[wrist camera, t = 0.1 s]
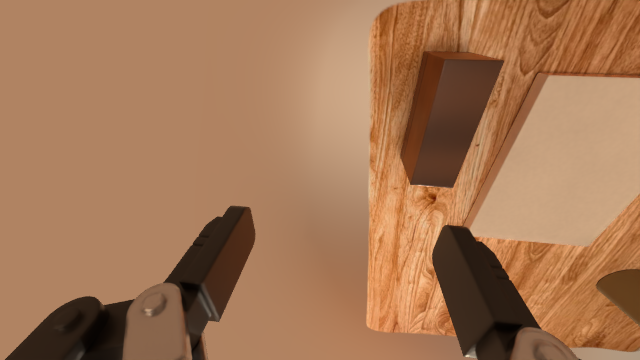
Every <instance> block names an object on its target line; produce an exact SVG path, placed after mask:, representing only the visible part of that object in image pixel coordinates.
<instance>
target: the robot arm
mask: <svg viewBox="0 0 640 360" xmlns="http://www.w3.org/2000/svg"><path fill="white" fill-rule="evenodd" d="M254 241H255V229H254V224H253V219H252V214H251V210H250V208H249V207H242V206H230V207H229V208H228V209H227V211H226V212H225V214H224V215H223V217H216V218H215V219H213V220H212V221H211V222H209V223H208V224H207V225H206V226H205V227H204V229H203V230H202V231H201V233H200V234H199V237H197V238H196V240H195V241H194V242H193V245H192V246H191V247H190V248H189V249H188V251H187V252H186V253H185V255H184V256H183V257H182V259H181V260H180V262H179V263H178V264H177V266H176V267H175V268H174V270H173V271H172V273H171V274H170V275H169V277H168V278H167V279H166V280H165V282H164V283H162V284H158V285H155V286H152V287H150V288H149V289H147V290H145V291H144V292H143V293H141V294H140V295H139V296H138V297H137V298H136V299H133V300H129V301H124V302H118V303H113V304H108V305H103V304H102V303H101V302H100V301H99V300H98V299H96V298H95V297H90V296H89V297H82V298H77V299H75V300H72V301H70V302H68V303H66V304H64V305H62V306H61V307H59V308H58V309H56V310H55V311H54V312H52V313H51V314H50V315H49V316H48V317H47V318H46V319H45V320H44V321H43V322H42V323H41V324H40V325H39V326H38V327H37V328H36V329H35V330H34V331H33V332H32V333H31V334H30V335H29V336H28V337H27V338H26V339H25V340H24V341H23V342H22V343H21V344H20V345H19V346H18V347H17V348H16V349H15V350H14V351H13V352H12V353H11V354H10V355H9V356H8V357H7V358H6V359H5V360H208V356H207V349H206V343H205V337H204V332H203V330H204V328H205V326H206V324H207V322H208V321H216V322H219V321H220V319H221V316H222V314H223V312H224V310H225V308H226V305H227V303H228V301H229V298H230V296H231V294H232V292H233V290H234V287H235V285H236V283H237V281H238V279H239V276H240V274H241V272H242V270H243V267H244V265H245V263H246V261H247V259H248V256H249V254H250V252H251V250H252V248H253V245H254ZM432 261H433V266H434V269H435V272H436V275H437V278H438V281H439V284H440V287H441V290H442V293H443V296H444V299H445V302H446V305H447V308H448V311H449V314H450V317H451V320H452V323H453V326H454V329H455V332H456V335H457V338H458V340H459V344H460V347H461V350H462V353H463V356H464V357H471V358H477V359H478V360H580V359H578V358H577V357H576V355H575V354H574V353H573V352H572V351H571V350H570V349H569V348H568V347H567V346H566V345H565V344H564V343H563V342H562V341H560V340H559V339H558V338H556V337H555V336H553V335H551V334H550V333H548V332H546V331H543V330H542V329H541V328H540V326H539V325H538V323H537V322H536V320H535V319H534V317H533V315H532V314H531V312H530V310H529V309H528V307H527V306H526V304H525V302H524V301H523V299H522V298H521V296H520V294H519V293H518V291H517V289H516V288H515V286H514V285H513V283H512V281H511V280H509V276H508V275H507V273H506V272H505V270H504V269H502V265H501V264H500V262H499V260H498V259H497V257H496V255H495V254H494V253H493V252H492V251H491V250H490V249H489V248H488V247H487V246H486V245H485V244H484V243H482V242H479V241H476V240H475V238H474V237H473V235H472V233H471V231H470V230H469V229H468V228H467V227H463V226H452V225H445V226H444V227H443V228H442V230H441V233H440V235H439V238H438V240H437V242H436V245H435V247H434V249H433V254H432Z"/></svg>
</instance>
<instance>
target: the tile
mask: <svg viewBox="0 0 640 360" xmlns="http://www.w3.org/2000/svg"><path fill="white" fill-rule="evenodd" d="M639 194H640V75H607V74H573V73H537V76H536V78H535V80H534V82H533V84H532V86H531V88H530V90H529V92H528V94H527V96H526V98H525V100H524V102H523V104H522V106H521V108H520V110H519V112H518V114H517V116H516V118H515V121H514V123H513V125H512V127H511V129H510V131H509V133H508V135H507V137H506V139H505V141H504V143H503V145H502V147H501V149H500V151H499V153H498V155H497V157H496V159H495V161H494V164H493V166H492V168H491V170H490V172H489V174H488V176H487V178H486V180H485V182H484V184H483V186H482V188H481V190H480V192H479V194H478V196H477V198H476V200H475V202H474V204H473V207H472V209H471V211H470V213H469V215H468V217H467V219H466V221H465V223H464V225H463V227H467V228H468V229H469V230H470V231H471V233H472V235H473V236H475V237H486V238H497V239H508V240H519V241H530V242H541V243H552V244H563V245H574V246H585V247H589V246H590V244H591V243H592V242H593V241H594V240H595V239H596V238H597V237H598V236H599V235H600V234H601V233H602V232H603V231H604V230H605V229H606V228H607V227H608V226H609V225H610V224H611V223H612V222H613V221H614V220H615V219H616V218H617V217H618V216H619V215H620V214H621V213H622V212H623V210H624V209H625V208H626V207H627V206H628V205H629V204H630V203H631V202H632V201H633V200H634V199H635V198H636V197H637V196H638V195H639Z"/></svg>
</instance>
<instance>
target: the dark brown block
mask: <svg viewBox="0 0 640 360" xmlns="http://www.w3.org/2000/svg"><path fill="white" fill-rule="evenodd" d="M503 63H504V61H503V60H499V59H495V58H491V57H487V56H483V55H478V54H474V53H470V52H436V51H425V52H424V54H423V59H422V63H421V68H420V72H419V76H418V81H417V85H416V89H415V94H414V98H413V103H412V107H411V111H410V116H409V120H408V125H407V129H406V133H405V138H404V142H403V146H402V151H401V155H400V157H401V160H402V162H403V165H404V168H405V171H406V174H407V177H408V179H409V182H410V185H419V186H432V187H446V188H453V186H454V184H455V181H456V179H457V176H458V174H459V172H460V169H461V167H462V164H463V162H464V159H465V157H466V154H467V152H468V149H469V147H470V144H471V142H472V139H473V137H474V134H475V132H476V129H477V127H478V125H479V122H480V120H481V117H482V115H483V112H484V110H485V107H486V105H487V102H488V100H489V97H490V95H491V92H492V90H493V87H494V85H495V82H496V80H497V77H498V75H499V73H500V70H501V68H502V65H503Z"/></svg>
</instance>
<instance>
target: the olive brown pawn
mask: <svg viewBox="0 0 640 360" xmlns="http://www.w3.org/2000/svg"><path fill="white" fill-rule="evenodd" d="M597 289H598V290H599V291H600V292H601V293H602V294H603V295H605V296H606V297H607V298H608V299H609V300H610V301H611V302H613V303H614V304H615V305H616V306H617V307H618V308H619V309H621V310H622V311H623V312H624V313H625V314H626V315H627V316H629V317H630V318H631V319H632V320H633V321H634V322H635V323H637V324H638V325H639V326H640V270H624V271H619V272H615V273H612V274H610V275H608V276H606V277H604V278H602V279H601V280H600V281H599V282H598V283H597Z"/></svg>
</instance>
